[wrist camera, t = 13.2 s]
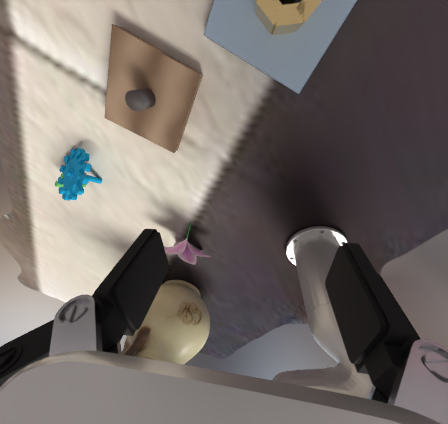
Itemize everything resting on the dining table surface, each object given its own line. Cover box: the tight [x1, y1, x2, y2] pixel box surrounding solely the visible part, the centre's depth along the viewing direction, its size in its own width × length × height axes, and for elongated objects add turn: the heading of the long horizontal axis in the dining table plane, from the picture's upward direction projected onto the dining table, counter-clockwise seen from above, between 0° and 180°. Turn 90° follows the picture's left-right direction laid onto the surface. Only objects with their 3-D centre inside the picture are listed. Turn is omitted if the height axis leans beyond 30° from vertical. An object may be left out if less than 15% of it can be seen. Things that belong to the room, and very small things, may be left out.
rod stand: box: [105, 24, 203, 153], centre depth 28 cm, size 12×12×6 cm
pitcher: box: [121, 280, 210, 365], centre depth 51 cm, size 22×24×25 cm
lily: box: [164, 223, 211, 264], centre depth 43 cm, size 12×12×10 cm
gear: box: [55, 148, 102, 200], centre depth 38 cm, size 11×6×10 cm
